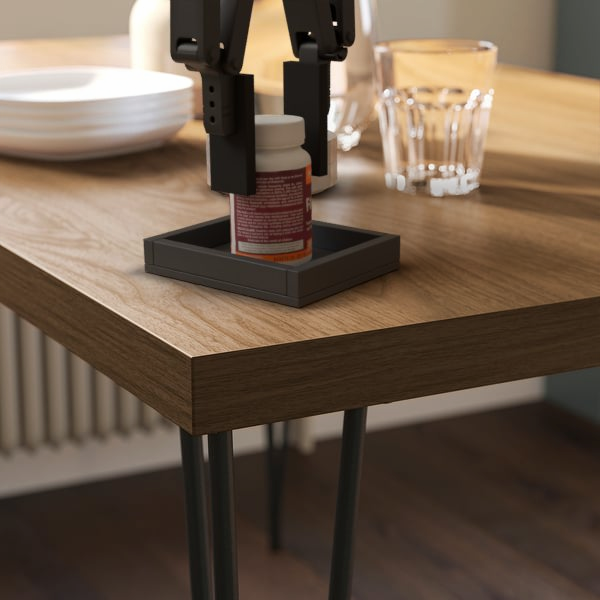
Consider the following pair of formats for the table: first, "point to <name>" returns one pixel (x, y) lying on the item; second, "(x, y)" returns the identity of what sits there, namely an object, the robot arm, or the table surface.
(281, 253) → the pill bottle
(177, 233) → the tray
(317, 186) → the gray bowl
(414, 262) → the table surface
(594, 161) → the table surface
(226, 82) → the robot arm
